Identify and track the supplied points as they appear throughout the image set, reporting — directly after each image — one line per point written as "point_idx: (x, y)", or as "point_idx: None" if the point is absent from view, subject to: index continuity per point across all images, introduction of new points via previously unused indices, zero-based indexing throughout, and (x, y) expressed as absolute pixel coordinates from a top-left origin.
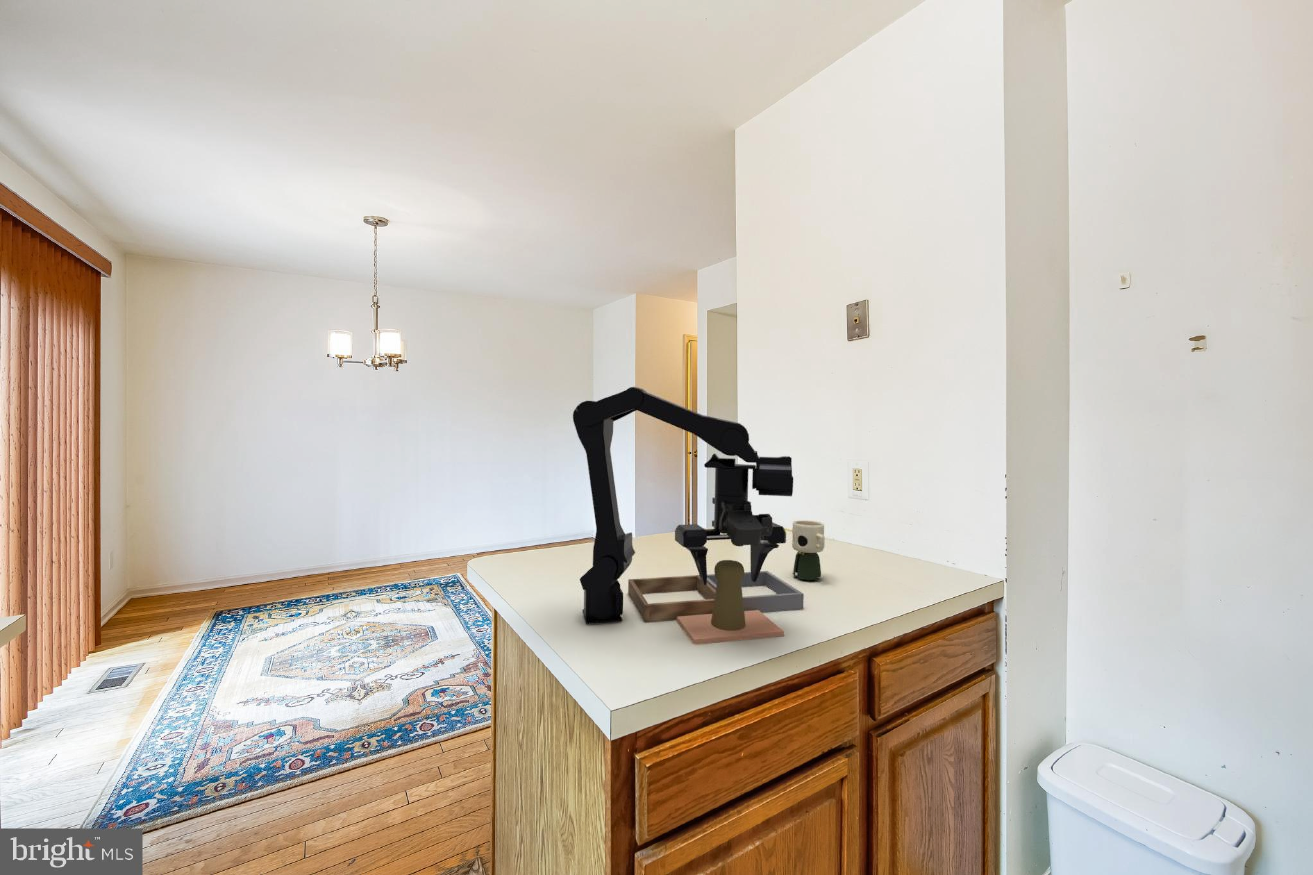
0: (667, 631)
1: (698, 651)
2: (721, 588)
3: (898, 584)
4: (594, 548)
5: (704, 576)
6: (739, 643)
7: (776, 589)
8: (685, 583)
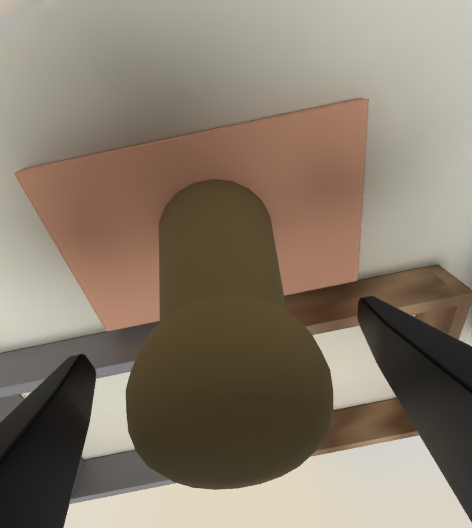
0: (403, 205)
1: (365, 29)
2: (274, 285)
3: None
4: None
5: (407, 321)
6: (197, 103)
7: None
8: None
